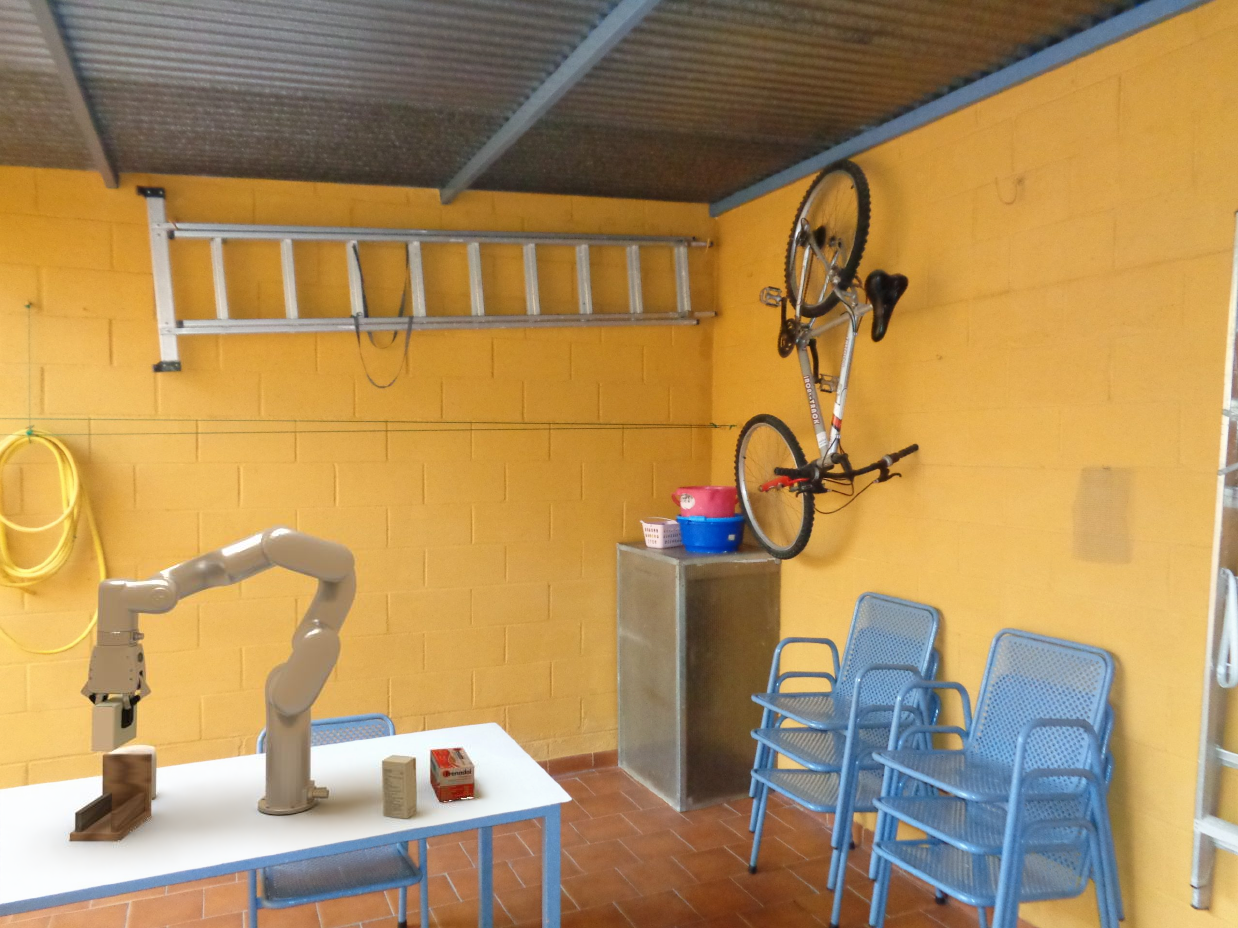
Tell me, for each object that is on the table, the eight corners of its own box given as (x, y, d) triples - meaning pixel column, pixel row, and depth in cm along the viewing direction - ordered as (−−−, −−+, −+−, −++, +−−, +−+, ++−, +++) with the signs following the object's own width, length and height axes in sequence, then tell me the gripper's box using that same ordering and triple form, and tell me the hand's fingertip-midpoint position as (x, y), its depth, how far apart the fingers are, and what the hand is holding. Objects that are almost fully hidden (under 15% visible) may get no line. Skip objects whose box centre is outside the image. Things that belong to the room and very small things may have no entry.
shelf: (151, 816, 200) (151, 753, 200) (119, 840, 187) (119, 774, 187) (104, 815, 200) (105, 753, 200) (69, 840, 187) (70, 773, 187)
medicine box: (474, 799, 211) (475, 765, 211) (439, 804, 209) (439, 768, 209) (462, 778, 226) (462, 745, 226) (428, 782, 223) (428, 749, 223)
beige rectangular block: (136, 737, 197) (137, 694, 197) (111, 751, 187) (113, 706, 187) (117, 736, 197) (118, 694, 197) (91, 751, 187) (92, 706, 187)
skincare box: (417, 812, 203) (417, 756, 203) (406, 819, 199) (407, 762, 199) (392, 808, 205) (392, 753, 205) (381, 815, 201) (381, 759, 201)
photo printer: (155, 793, 213) (155, 739, 213) (157, 799, 210) (157, 744, 210) (104, 802, 208) (104, 747, 208) (105, 808, 204) (106, 752, 204)
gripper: (166, 635, 196) (164, 722, 196) (86, 633, 196) (84, 720, 195) (149, 642, 188) (147, 732, 188) (66, 640, 188) (63, 730, 188)
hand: (115, 725), depth 192 cm, fingers closed on beige rectangular block, 4 cm apart
